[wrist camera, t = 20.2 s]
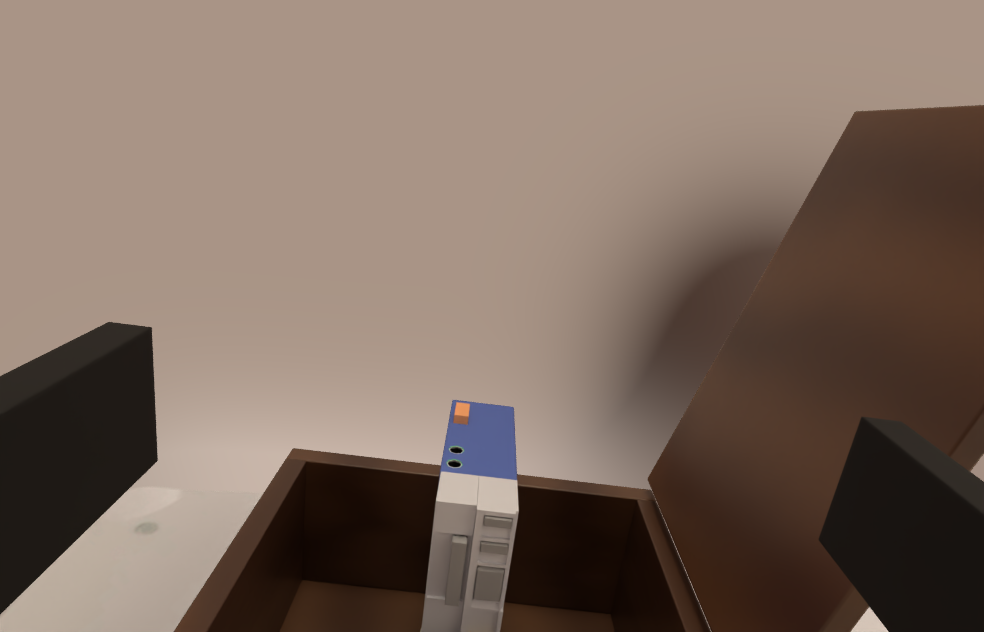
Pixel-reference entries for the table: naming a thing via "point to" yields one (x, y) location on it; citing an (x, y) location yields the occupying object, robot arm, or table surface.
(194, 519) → the table surface
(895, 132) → the chest lid
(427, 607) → the walkman
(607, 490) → the chest
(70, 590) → the table surface
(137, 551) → the table surface
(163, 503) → the table surface
